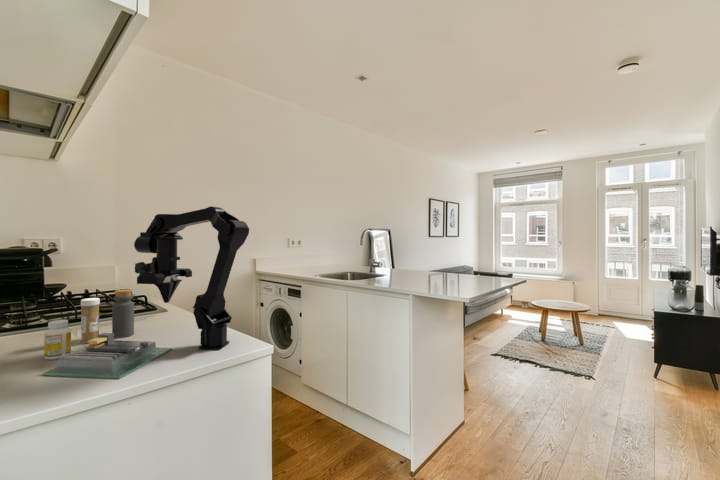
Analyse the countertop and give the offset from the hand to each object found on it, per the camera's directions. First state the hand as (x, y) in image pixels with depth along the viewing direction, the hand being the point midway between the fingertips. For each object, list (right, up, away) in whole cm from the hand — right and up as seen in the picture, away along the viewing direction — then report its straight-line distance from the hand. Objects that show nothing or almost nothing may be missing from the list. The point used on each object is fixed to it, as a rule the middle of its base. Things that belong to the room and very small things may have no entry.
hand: (166, 302), depth 103 cm
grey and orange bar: (-3, -9, -18) cm, 20 cm away
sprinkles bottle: (-22, -12, -3) cm, 25 cm away
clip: (-8, -9, -16) cm, 20 cm away
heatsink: (-3, -12, -18) cm, 22 cm away
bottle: (-17, -12, +4) cm, 21 cm away
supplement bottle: (-21, -12, -15) cm, 28 cm away
